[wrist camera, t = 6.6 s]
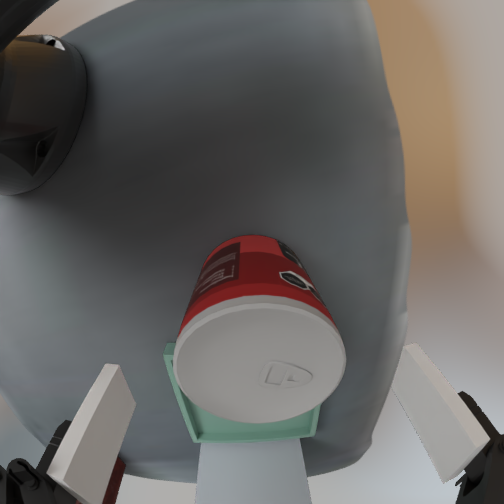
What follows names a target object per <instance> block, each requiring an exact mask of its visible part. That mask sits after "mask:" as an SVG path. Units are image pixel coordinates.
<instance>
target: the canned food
mask: <svg viewBox="0 0 504 504" xmlns="http://www.w3.org/2000/svg"><path fill="white" fill-rule="evenodd" d="M345 365H346V353H345V348H344V345H343V341H342V338H341V336H340V334H339V331H338V329H337V327H336V325H335V323H334V321H333V319H332V317H331V315H330V313H329V311H328V310H327V308H326V306H325V304H324V302H323V301H322V299H321V297H320V295H319V293H318V292H317V290H316V288H315V286H314V285H313V283H312V281H311V279H310V278H309V276H308V274H307V272H306V271H305V269H304V267H303V266H302V264H301V262H300V260H299V259H298V257H297V256H296V255H295V254H294V252H293V251H292V250H291V249H289V248H288V247H287V246H286V245H285V244H283V243H281V242H279V241H277V240H276V239H273V238H269V237H266V236H260V235H243V236H239V237H235V238H232V239H230V240H228V241H226V242H223V243H222V244H221V245H219V246H218V247H217V248H215V249H214V250H213V252H212V253H211V254H210V255H209V256H208V258H207V260H206V261H205V263H204V265H203V268H202V270H201V273H200V276H199V278H198V281H197V284H196V286H195V289H194V292H193V294H192V297H191V300H190V302H189V305H188V308H187V311H186V313H185V316H184V319H183V322H182V324H181V328H180V332H179V335H178V338H177V341H176V345H175V349H174V357H173V372H174V375H175V378H176V381H177V383H178V385H179V387H180V388H181V390H182V391H183V393H184V394H185V395H186V396H187V397H188V398H189V399H190V400H191V401H192V402H193V403H194V404H196V405H197V406H198V407H200V408H201V409H203V410H205V411H207V412H209V413H211V414H213V415H215V416H217V417H220V418H223V419H226V420H230V421H235V422H241V423H253V424H261V423H273V422H279V421H284V420H288V419H291V418H294V417H297V416H300V415H302V414H304V413H306V412H308V411H310V410H312V409H314V408H315V407H316V406H318V405H319V404H321V403H322V402H324V401H325V400H326V399H327V398H328V397H329V396H330V395H331V394H332V393H333V392H334V390H335V389H336V387H337V386H338V385H339V383H340V381H341V379H342V376H343V374H344V372H345Z"/></svg>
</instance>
